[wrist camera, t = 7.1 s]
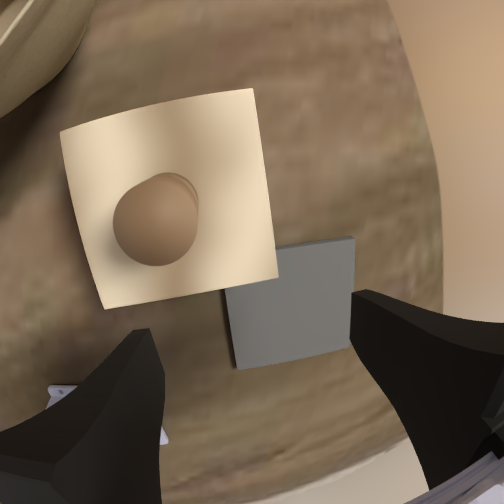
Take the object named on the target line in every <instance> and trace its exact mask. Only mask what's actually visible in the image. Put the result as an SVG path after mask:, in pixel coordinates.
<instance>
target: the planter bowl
mask: <svg viewBox="0 0 504 504" xmlns="http://www.w3.org/2000/svg"><path fill="white" fill-rule="evenodd" d="M95 3H96V0H0V118H1V117H3V116H4V115H6V114H8V113H9V112H10V111H12V110H13V109H15V108H16V107H17V106H19V105H20V104H21V103H22V102H24V101H25V100H26V99H27V98H28V97H30V96H31V95H32V94H33V93H35V92H36V91H38V90H39V89H41V88H42V87H44V86H45V85H46V84H47V83H49V82H50V81H51V80H52V79H53V78H54V77H55V76H56V75H57V74H58V73H59V72H60V71H61V70H62V69H63V68H64V67H65V65H66V64H67V63H68V61H69V60H70V59H71V57H72V56H73V54H74V53H75V51H76V49H77V48H78V46H79V44H80V42H81V40H82V37H83V35H84V33H85V30H86V27H87V23H88V20H89V18H90V15H91V13H92V11H93V8H94V6H95Z"/></svg>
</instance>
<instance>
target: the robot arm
mask: <svg viewBox="0 0 504 504" xmlns="http://www.w3.org/2000/svg"><path fill="white" fill-rule="evenodd" d="M349 339H350V341H351V343H352V345H353V347H354V349H355V351H356V353H357V355H358V357H359V358H360V360H361V361H362V363H363V364H364V366H365V367H366V369H367V370H368V371H369V373H370V374H371V376H372V377H373V378H374V380H375V381H376V382H377V384H378V385H379V386H380V388H381V389H382V391H383V392H384V393H385V395H386V396H387V398H388V399H389V400H390V402H391V404H392V405H393V407H394V408H395V410H396V412H397V414H398V416H399V418H400V420H401V422H402V423H403V425H404V427H405V429H406V432H407V434H408V436H409V438H410V440H411V442H412V444H413V446H414V449H415V451H416V454H417V456H418V459H419V461H420V464H421V466H422V469H423V472H424V475H425V478H426V481H427V484H428V487H429V491H428V492H426V493H424V494H423V495H420V496H419V497H417V498H415V499H413V500H411V501H409V502H406V503H405V504H504V323H492V322H482V321H473V320H467V319H462V318H457V317H452V316H447V315H443V314H440V313H436V312H433V311H429V310H426V309H423V308H420V307H417V306H414V305H411V304H408V303H405V302H403V301H400V300H397V299H395V298H392V297H389V296H386V295H384V294H381V293H378V292H375V291H371V290H367V289H365V290H361V291H356V292H352V293H351V317H350V336H349ZM61 390H62V391H61ZM48 392H49V394H50V395H51V398H50V400H49V402H48V405H47V407H46V409H45V410H44V411H42V412H41V413H39V414H37V415H35V416H34V417H32V418H30V419H28V420H26V421H24V422H22V423H20V424H18V425H16V426H14V427H11V428H9V429H6V430H4V431H1V432H0V502H1V503H2V504H162V499H161V488H160V473H159V446H160V445H162V444H167V443H168V437H167V435H166V433H165V431H164V429H163V427H162V419H163V410H164V401H165V373H164V370H163V367H162V365H161V362H160V359H159V356H158V353H157V350H156V347H155V344H154V341H153V338H152V335H151V331H150V328H147V329H139V330H133V331H132V332H131V333H130V334H129V335H128V336H127V337H126V338H125V339H124V340H123V341H122V342H121V343H120V344H119V345H118V346H117V348H116V349H115V350H114V351H113V352H112V353H111V354H110V355H109V356H108V357H107V358H106V359H105V360H104V362H103V363H102V364H101V365H100V366H98V367H97V368H96V369H95V370H94V371H93V372H92V373H91V374H90V375H89V376H88V377H87V378H86V379H85V380H84V381H83V382H82V383H81V384H80V385H78V386H65V385H50V386H49V387H48Z"/></svg>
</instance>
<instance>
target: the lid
mask: <svg viewBox="0 0 504 504" xmlns="http://www.w3.org/2000/svg"><path fill="white" fill-rule="evenodd" d="M60 138H61V145H62V151H63V157H64V163H65V169H66V174H67V179H68V184H69V189H70V194H71V198H72V203H73V207H74V211H75V215H76V219H77V223H78V227H79V231H80V235H81V238H82V242H83V246H84V249H85V252H86V256H87V259H88V262H89V266H90V269H91V272H92V275H93V278H94V281H95V284H96V287H97V290H98V293H99V296H100V299H101V301H102V304H103V307H104V309H110V308H116V307H122V306H128V305H134V304H140V303H146V302H152V301H157V300H163V299H169V298H174V297H180V296H185V295H191V294H196V293H202V292H207V291H212V290H218V289H223V288H228V287H233V286H239V285H244V284H249V283H254V282H259V281H264V280H269V279H274V278H279V275H278V267H277V259H276V250H275V243H274V235H273V227H272V219H271V212H270V204H269V197H268V189H267V182H266V175H265V167H264V160H263V153H262V146H261V139H260V133H259V126H258V119H257V112H256V106H255V99H254V93H253V88H251V89H242V90H234V91H226V92H219V93H212V94H206V95H200V96H194V97H188V98H183V99H178V100H173V101H168V102H163V103H158V104H154V105H150V106H145V107H141V108H137V109H133V110H129V111H125V112H122V113H118V114H114V115H111V116H107V117H104V118H100V119H97V120H94V121H91V122H88V123H84V124H81V125H78V126H75V127H72V128H69V129H67V130H64V131H61V132H60Z"/></svg>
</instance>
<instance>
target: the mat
mask: <svg viewBox="0 0 504 504" xmlns="http://www.w3.org/2000/svg"><path fill="white" fill-rule="evenodd" d="M275 250H276V259H277V267H278V275H279V278H274V279H269V280H264V281H259V282H254V283H249V284H244V285H239V286H233V287H228V288H225V295H226V301H227V308H228V315H229V321H230V328H231V334H232V340H233V347H234V353H235V359H236V365H237V370H243V369H249V368H255V367H261V366H266V365H272V364H277V363H282V362H287V361H292V360H297V359H302V358H306V357H311V356H315V355H320V354H324V353H328V352H332V351H336V350H341V349H344V348H348V347H350V339H349V336H350V317H351V293H352V292H354V273H355V238H353V237H352V236H349V237H342V238H335V239H328V240H321V241H314V242H307V243H300V244H293V245H285V246H278V247H275Z"/></svg>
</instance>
